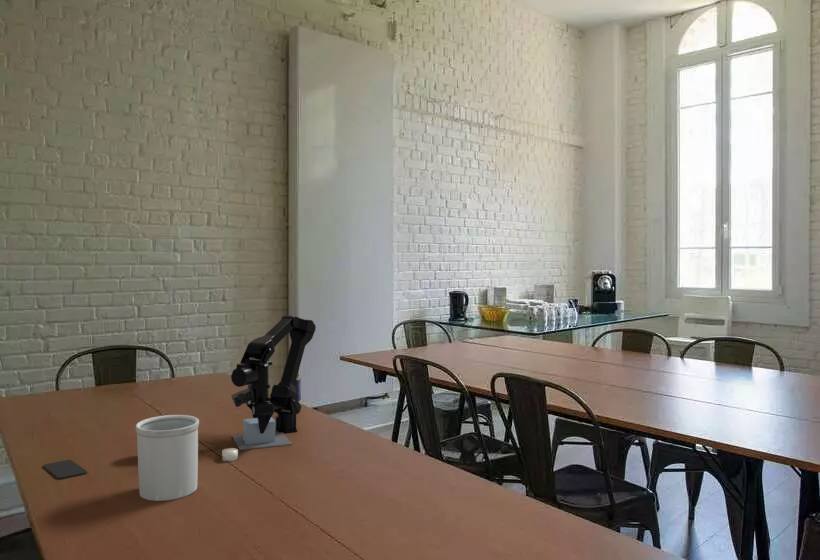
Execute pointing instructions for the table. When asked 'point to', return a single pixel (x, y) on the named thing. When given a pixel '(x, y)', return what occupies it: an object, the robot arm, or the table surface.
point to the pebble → (230, 454)
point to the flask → (298, 387)
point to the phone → (64, 469)
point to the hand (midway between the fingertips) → (259, 429)
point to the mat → (279, 441)
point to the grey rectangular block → (258, 432)
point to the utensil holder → (167, 456)
